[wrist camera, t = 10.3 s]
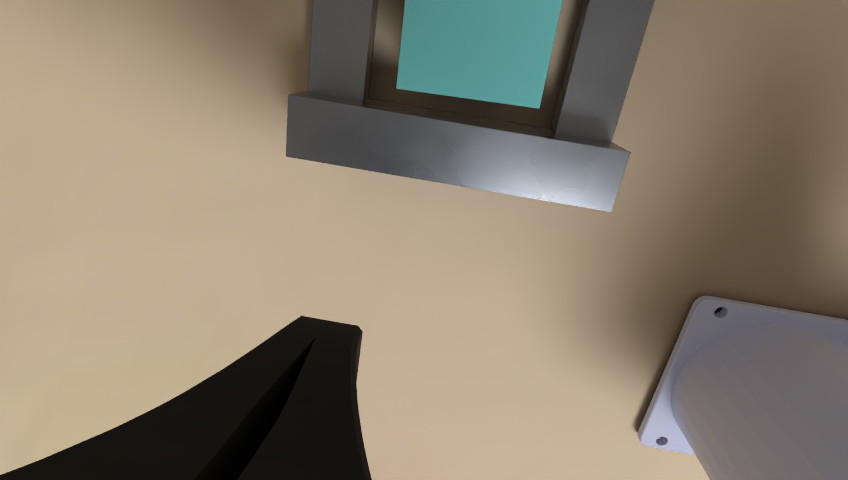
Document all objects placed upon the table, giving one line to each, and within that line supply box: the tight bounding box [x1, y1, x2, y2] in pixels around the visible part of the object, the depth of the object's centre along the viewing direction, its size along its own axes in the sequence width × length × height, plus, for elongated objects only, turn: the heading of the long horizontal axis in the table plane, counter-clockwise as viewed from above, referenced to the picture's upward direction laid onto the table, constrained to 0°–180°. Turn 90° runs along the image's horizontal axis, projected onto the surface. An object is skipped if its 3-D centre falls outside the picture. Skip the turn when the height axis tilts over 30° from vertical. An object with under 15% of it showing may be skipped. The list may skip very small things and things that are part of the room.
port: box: [286, 0, 655, 212], centre depth 15 cm, size 11×9×3 cm
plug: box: [396, 0, 563, 108], centre depth 13 cm, size 4×4×6 cm
